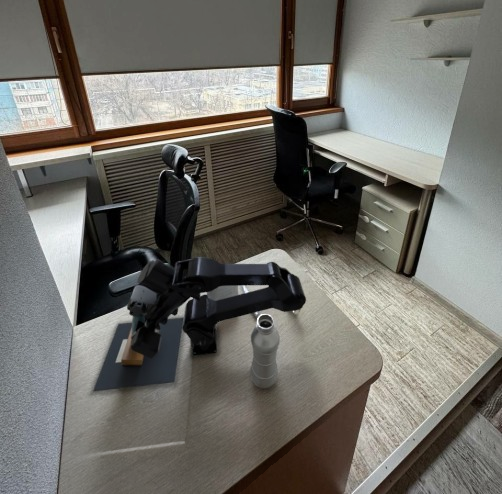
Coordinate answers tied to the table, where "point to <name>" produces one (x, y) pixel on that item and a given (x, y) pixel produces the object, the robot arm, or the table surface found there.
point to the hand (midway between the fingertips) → (134, 332)
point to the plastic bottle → (264, 352)
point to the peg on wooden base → (130, 356)
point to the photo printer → (223, 292)
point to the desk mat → (151, 369)
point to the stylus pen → (247, 292)
